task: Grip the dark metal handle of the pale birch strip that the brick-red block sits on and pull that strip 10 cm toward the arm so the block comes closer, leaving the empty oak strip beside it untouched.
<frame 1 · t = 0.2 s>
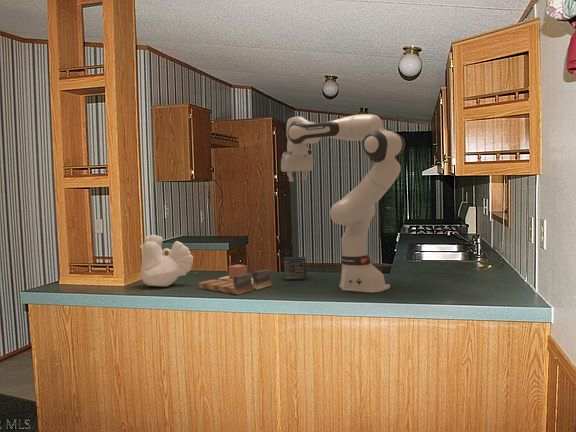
hand: (297, 181, 264), 47 cm above the counter, tool pointing down, fingers open, 8 cm apart
brick block: (238, 278, 264), point 3 cm above the counter, touching birch strip
decorative rooster: (167, 286, 267), on the counter
small box: (295, 279, 271), on the counter
oak strip: (224, 281, 253), point 4 cm above the counter, slide at 0.0 cm
birch strip: (243, 276, 262), point 4 cm above the counter, slide at 0.0 cm, touching brick block
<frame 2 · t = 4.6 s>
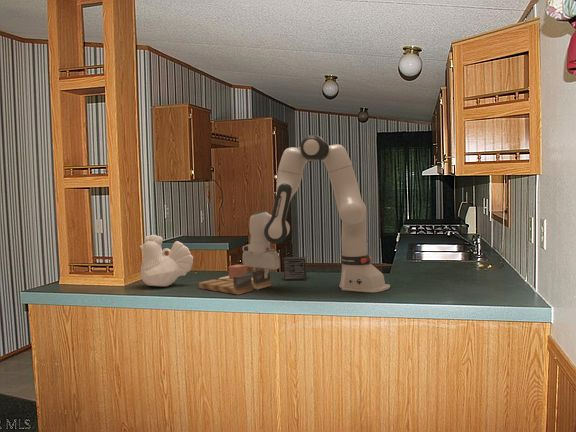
hand: (261, 277, 254), 5 cm above the counter, tool pointing down, fingers closed on birch strip, 3 cm apart
birch strip: (244, 276, 262), point 4 cm above the counter, slide at 0.0 cm, touching brick block, gripper
everything else where it was.
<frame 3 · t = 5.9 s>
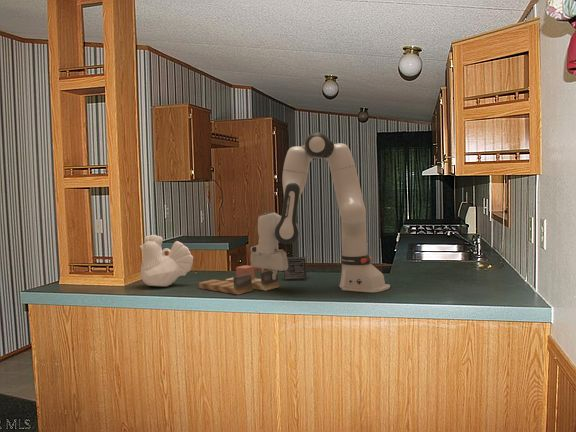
hand: (269, 278, 251), 5 cm above the counter, tool pointing down, fingers closed on birch strip, 3 cm apart
brick block: (245, 279, 261), point 3 cm above the counter, touching birch strip
birch strip: (251, 277, 258), point 4 cm above the counter, slide at 5.1 cm, touching brick block, gripper
everything else where it was.
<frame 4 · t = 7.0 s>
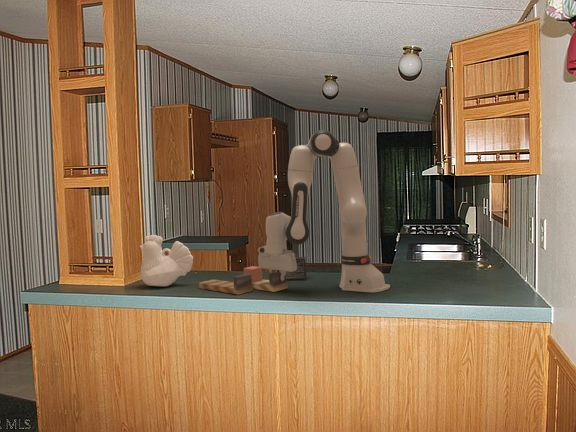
hand: (278, 279, 247), 5 cm above the counter, tool pointing down, fingers closed on birch strip, 3 cm apart
brick block: (253, 280, 258), point 3 cm above the counter, touching birch strip
birch strip: (259, 278, 255), point 4 cm above the counter, slide at 10.0 cm, touching brick block, gripper
everything else where it was.
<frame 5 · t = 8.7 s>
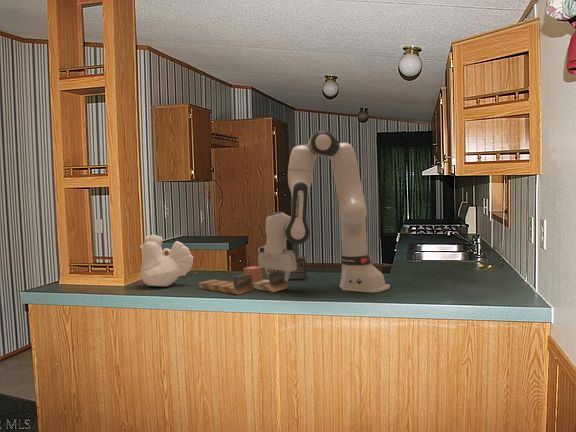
hand: (277, 279, 247), 5 cm above the counter, tool pointing down, fingers open, 8 cm apart
birch strip: (259, 278, 255), point 4 cm above the counter, slide at 10.1 cm, touching brick block
everything else where it was.
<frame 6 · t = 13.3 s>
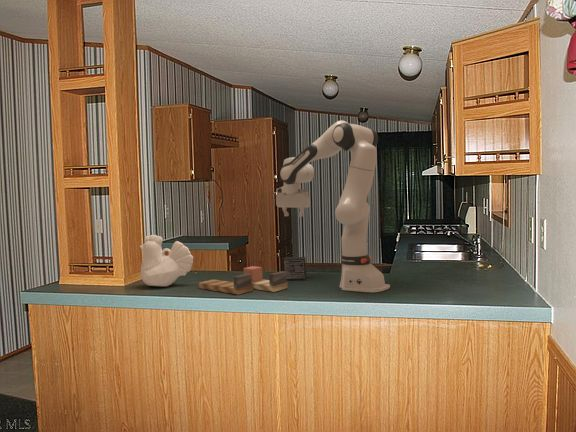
hand: (293, 216, 284), 29 cm above the counter, tool pointing down, fingers open, 8 cm apart
nothing on the counter moved.
at the end: birch strip slide at 10.1 cm; brick block inside the target area (0.1 cm from its centre), point 2.7 cm above the counter; oak strip slide at 0.0 cm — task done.
